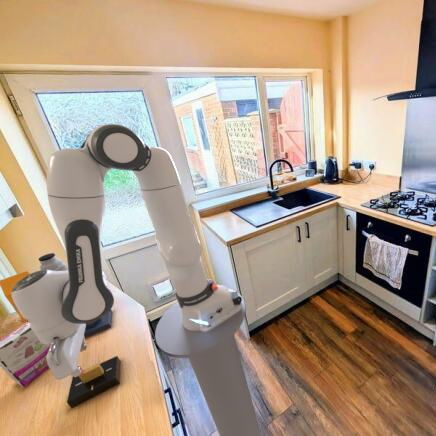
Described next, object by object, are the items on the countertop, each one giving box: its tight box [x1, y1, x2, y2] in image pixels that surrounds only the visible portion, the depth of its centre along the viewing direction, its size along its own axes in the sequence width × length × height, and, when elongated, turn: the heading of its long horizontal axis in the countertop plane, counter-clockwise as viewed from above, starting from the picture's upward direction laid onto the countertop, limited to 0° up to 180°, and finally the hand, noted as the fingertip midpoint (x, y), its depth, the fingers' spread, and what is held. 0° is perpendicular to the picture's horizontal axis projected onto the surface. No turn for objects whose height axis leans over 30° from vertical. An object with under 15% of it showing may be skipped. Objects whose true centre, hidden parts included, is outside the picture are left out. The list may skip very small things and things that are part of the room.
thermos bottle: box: [38, 252, 68, 271], centre depth 104 cm, size 8×8×28 cm
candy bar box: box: [0, 321, 51, 388], centre depth 80 cm, size 11×5×16 cm, turn 161°
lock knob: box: [79, 362, 104, 383], centre depth 74 cm, size 5×1×4 cm, turn 121°
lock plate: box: [66, 355, 122, 409], centre depth 76 cm, size 12×9×3 cm
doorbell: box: [84, 309, 113, 339], centre depth 98 cm, size 12×10×4 cm
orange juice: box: [0, 270, 30, 323], centre depth 106 cm, size 8×9×20 cm
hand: (81, 360), depth 72 cm, fingers open, 8 cm apart
